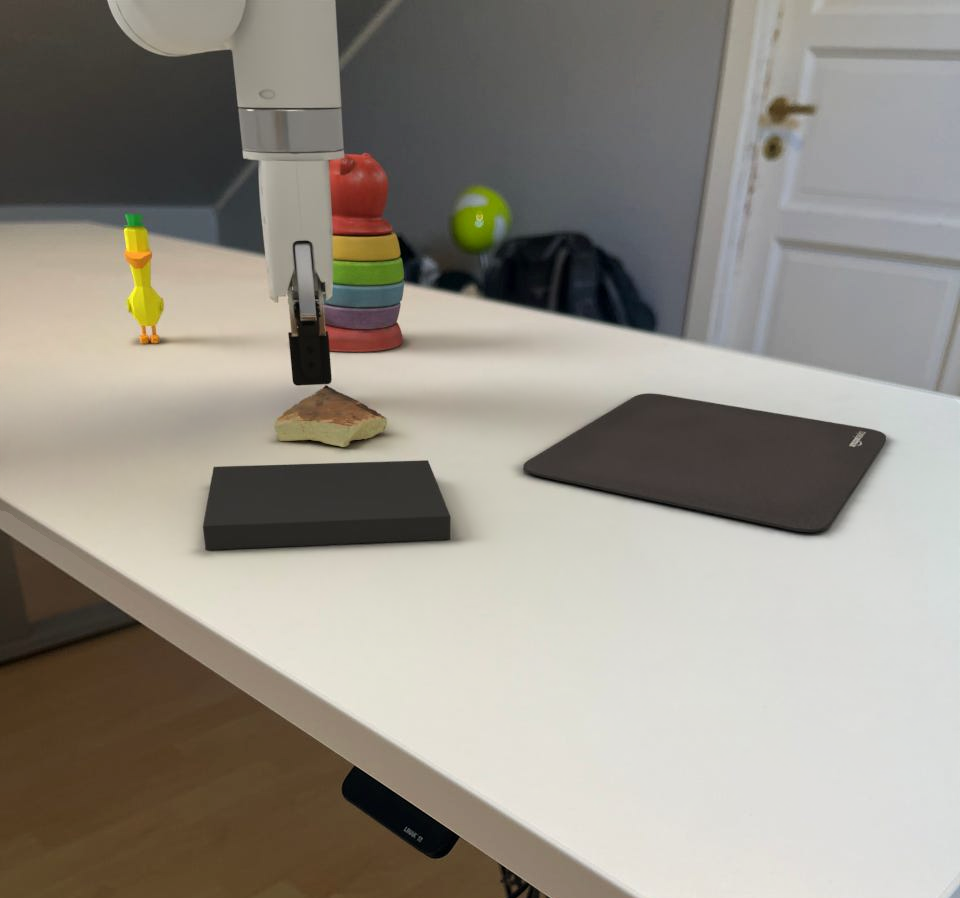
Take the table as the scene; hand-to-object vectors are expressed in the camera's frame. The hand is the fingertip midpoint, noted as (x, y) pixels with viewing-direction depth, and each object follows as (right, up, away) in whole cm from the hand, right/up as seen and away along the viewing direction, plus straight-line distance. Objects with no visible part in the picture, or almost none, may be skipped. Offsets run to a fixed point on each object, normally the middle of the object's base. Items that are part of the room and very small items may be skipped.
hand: (312, 381), depth 82 cm
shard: (+1, -5, -6) cm, 8 cm away
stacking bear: (+1, +9, +20) cm, 23 cm away
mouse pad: (+32, -8, -9) cm, 34 cm away
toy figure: (-20, +9, +18) cm, 28 cm away
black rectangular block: (+5, -14, -21) cm, 26 cm away
